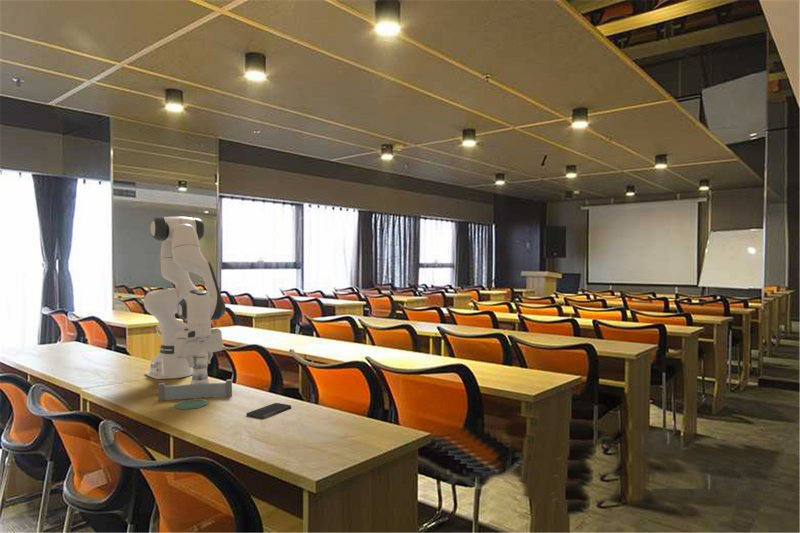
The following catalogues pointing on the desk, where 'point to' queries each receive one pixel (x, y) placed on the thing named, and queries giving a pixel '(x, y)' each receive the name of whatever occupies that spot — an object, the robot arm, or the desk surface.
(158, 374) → the robot arm
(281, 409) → the phone
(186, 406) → the mat
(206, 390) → the low wall
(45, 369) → the desk surface
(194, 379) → the plastic bottle
